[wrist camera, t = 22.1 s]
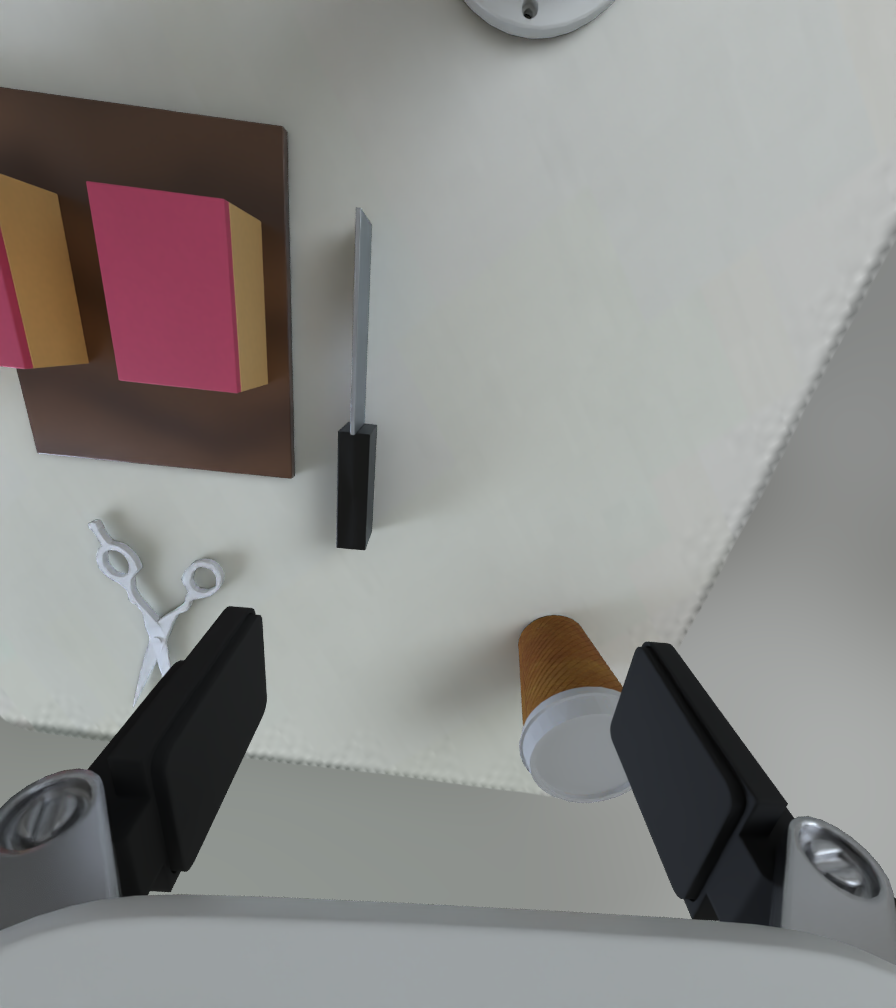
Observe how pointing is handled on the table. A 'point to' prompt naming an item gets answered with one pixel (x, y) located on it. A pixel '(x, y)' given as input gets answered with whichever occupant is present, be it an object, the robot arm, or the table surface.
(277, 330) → the cake board
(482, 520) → the table surface
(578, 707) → the disposable coffee cup
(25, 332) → the cake slice
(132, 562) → the scissors
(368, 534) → the knife
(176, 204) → the cake
